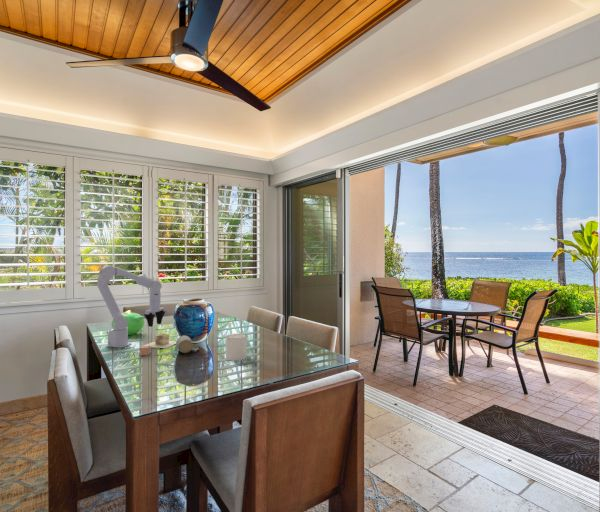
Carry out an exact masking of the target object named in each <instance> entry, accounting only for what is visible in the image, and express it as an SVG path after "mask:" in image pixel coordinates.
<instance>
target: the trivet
mask: <svg viewBox="0 0 600 512" xmlns="http://www.w3.org/2000/svg"><path fill="white" fill-rule="evenodd" d="M176 341H177V340H176ZM176 341H175V340H169V343H168V344H165V345H155V341H152V342H149V343H146V344H144V345H142V346H151V349H160V348H164V349H163V350H166V349H169V348H171V347H173V346H175V345H174V344H176ZM172 345H173V346H172ZM170 346H171V347H170ZM168 347H169V348H168ZM165 348H166V349H165Z"/></svg>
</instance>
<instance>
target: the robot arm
mask: <svg viewBox="0 0 600 512" xmlns="http://www.w3.org/2000/svg"><path fill="white" fill-rule="evenodd" d="M114 276H115V277H120V276H121V277H124V278H127V279H130V280H133V281H135V282H136V284H137V285H139V286H142V287H145V288H146V289H149V309H147V310H145V311H144V317H145V319H146V322H147V326H148V327H149V328H150V327H153V326H154V319H155V317H156V324H157V325H161V324H162V321H163V318H164V315H165V314H166V311H165V307H164V306H162V307H161V295H162V294H161V289H162V288H163V285H162V282H161V281H160V280H157V279H155V278H154V277H149V276H147V275H146V274H135V273H133V272H131V271H128V270H125V269H123V268H120V267H116V266H112V265H103V266H102V267H101V269H100V271H99V272H98V276H97V282H96V286H97V288H98V290H99V293H100V294H101V297H102V298H103V301H104V302H105V305H106V306H107V308H108V311H109V313H110V315H111V317H112V321H113V324H114V325H115V327H114V328H113V329H112V328H111V329H110V330H109V331H108V333H107V345H106V347H107V348H108V347H109V348H125V347H127V346H131V345H130V344H132V343H131V342H129V341H128V340H129V338H128V337H129V335H128V328H127V326H128V321H127V320H126V319H125V318H124V317H123V315H122V314H121V313H122V312H121V310H120V309H119V306H118V304H117V301H116V300H115V298H114V294H112V292H111V290H110V287H109V284H110V281H111V279H113V277H114Z"/></svg>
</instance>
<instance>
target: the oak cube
mask: <svg viewBox="0 0 600 512" xmlns="http://www.w3.org/2000/svg"><path fill="white" fill-rule="evenodd" d="M154 336H155V345H165V344H168V343H169V341H170V334H169V333H158V334H155V335H154Z"/></svg>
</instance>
